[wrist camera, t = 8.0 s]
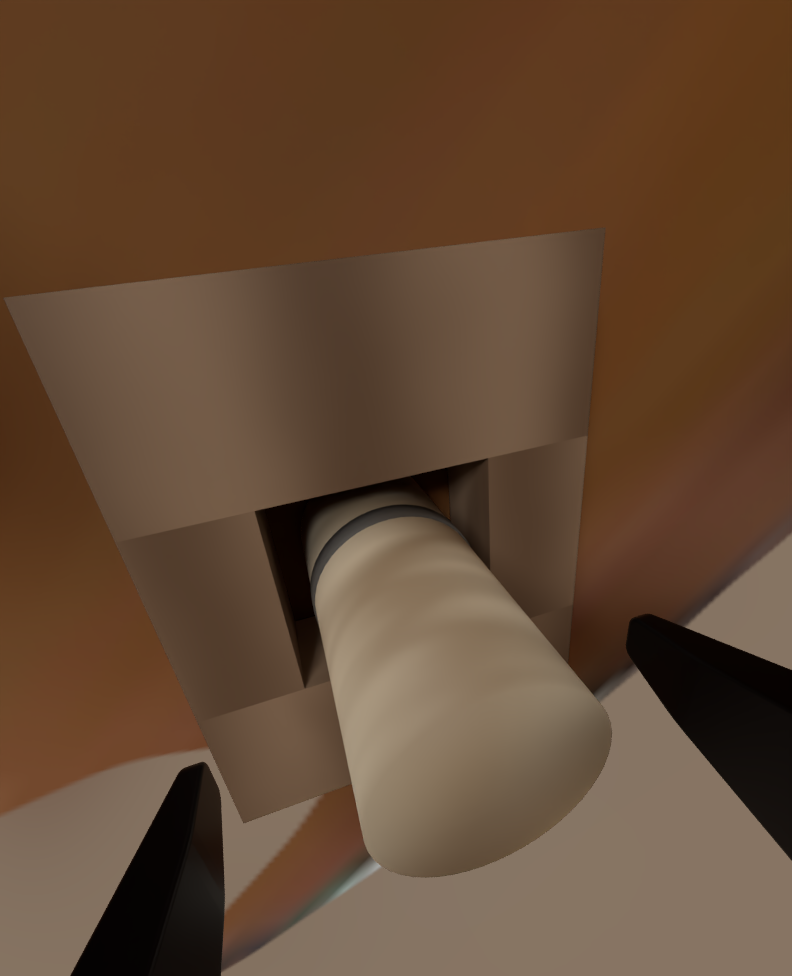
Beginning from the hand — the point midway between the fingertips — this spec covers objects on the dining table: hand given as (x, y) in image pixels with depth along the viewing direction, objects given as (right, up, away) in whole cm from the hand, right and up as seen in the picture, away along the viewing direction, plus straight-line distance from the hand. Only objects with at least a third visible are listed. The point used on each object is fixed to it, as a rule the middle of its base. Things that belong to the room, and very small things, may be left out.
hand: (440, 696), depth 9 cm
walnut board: (-2, +3, +6) cm, 7 cm away
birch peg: (-2, +3, +6) cm, 7 cm away
